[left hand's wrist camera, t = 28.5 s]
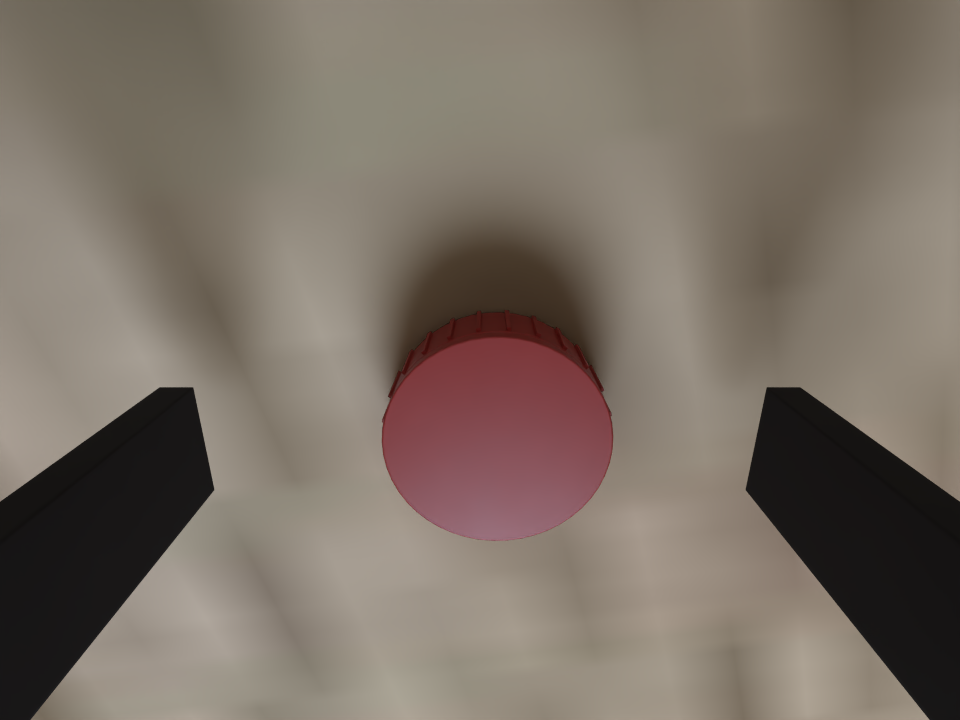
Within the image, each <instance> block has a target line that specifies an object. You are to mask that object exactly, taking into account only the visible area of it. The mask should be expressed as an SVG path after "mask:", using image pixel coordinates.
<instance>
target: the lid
mask: <svg viewBox="0 0 960 720" xmlns="http://www.w3.org/2000/svg"><path fill="white" fill-rule="evenodd" d="M602 391H604V389H603V387H602V385H601V383H600V381H599V379H598V377H597V375H596V373H595V371H594V369H593V367H592V365H590V366H589V365H588V363H587V361H586V359H585V357H584V355H583V353H582V351H581V349H580V347H579V346H578V345H577V344H576V345H575V346H574V345H573V344H572V343H571V342H570V341H569V340H568V339H567V338H566V337H565V336H564V335H562V333H561V331H560V329H559V328H557V327H556V329H554V328H552V327H550V326H548V325H546V324H544V323H543V322H541V321H538V320H537V319H536V317H535V316H532V317H531V318H530V317H526V316H522V315H518V314H512V313H509V310H505V312H504V313H501V312H497V313H482V314H481V311H477V314H476V315H471V316H467V317H464V318H460V319H458V320H455V318H453V319H451V320H450V323H448V324H446V325H445V326H443V327H441V328H440V329H438V330H436V331H435V332H433V333H432V332H431V331H430V332H429V333H428V334H427V336H426V339H425V340H424V341H423V342H422V343H421V344H420V345H419V346H418V347H417V348H416V349H415V350H412V349H411V351H410V352H409V354H408V357H407V359H406V362H405V364H404V367H403V369H402V372H401V371H398V374H397V376H396V378H395V381H394V383H393V386H392V388H391V390H390V393H389V395H388V397H390V398H391V399H390V402H389V404H388V406H387V409H386V411H385V414H384V416H383V419H382V422H383V428H382V448H383V456H384V460H385V463H386V467H387V470H388V472H389V475H390V477H391V479H392V481H393V483H394V485H395V486H396V488H397V490H398V491H399V493H400V494H401V495H402V497H403V498H404V499H405V500H406V502H407V503H408V504H409V505H410V506H411V507H412V508H413V509H414V510H415V511H416V512H418V513H419V514H420V515H421V516H423V517H424V518H425V519H427V520H428V521H430V522H432V523H433V524H435V525H437V526H438V527H440V528H443V529H445V530H447V531H449V532H452V533H455V534H458V535H461V536H464V537H469V538H474V539H480V540H491V541H499V540H513V539H521V538H525V537H529V536H533V535H536V534H539V533H542V532H545V531H547V530H549V529H551V528H553V527H555V526H557V525H559V524H561V523H563V522H564V521H566V520H567V519H569V518H570V517H572V516H573V515H574V514H575V513H577V512H578V511H579V510H580V509H581V508H582V507H583V506H584V505H585V504H586V503H587V502H588V501H589V500H590V499H591V497H592V496H593V495H594V493H595V492H596V490H597V489H598V488H599V486H600V484H601V482H602V480H603V478H604V476H605V474H606V471H607V469H608V466H609V463H610V459H611V454H612V448H613V428H612V421H611V417H610V416H612V415H611V411H610V409H609V407H608V405H607V403H606V401H605V399H604V397H603V395H602Z"/></svg>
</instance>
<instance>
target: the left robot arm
mask: <svg viewBox="0 0 960 720" xmlns="http://www.w3.org/2000/svg"><path fill="white" fill-rule="evenodd" d="M213 491H214V486H213V481H212V476H211V471H210V466H209V462H208V457H207V452H206V447H205V442H204V437H203V433H202V428H201V423H200V418H199V413H198V408H197V404H196V399H195V394H194V389H193V387H160V388H158V389H157V390H155V391H154V392H153V393H151V394H150V395H148V396H147V397H146V398H144V399H143V400H142V401H140V402H139V403H137V404H136V405H135V406H133V407H132V408H130V409H129V410H128V411H126V412H125V413H123V414H122V415H121V416H119V417H118V418H116V419H115V420H114V421H112V422H111V423H109V424H108V425H107V426H105V427H104V428H102V429H101V430H100V431H98V432H97V433H95V434H94V435H93V436H91V437H90V438H88V439H87V440H86V441H84V442H83V443H82V444H80V445H79V446H77V447H76V448H75V449H73V450H72V451H70V452H69V453H68V454H66V455H65V456H63V457H62V458H61V459H59V460H58V461H56V462H55V463H54V464H52V465H51V466H49V467H48V468H47V469H45V470H44V471H42V472H41V473H40V474H38V475H37V476H35V477H34V478H33V479H31V480H30V481H28V482H27V483H26V484H24V485H23V486H22V487H20V488H19V489H17V490H16V491H15V492H13V493H12V494H10V495H9V496H8V497H6V498H5V499H3V500H2V501H1V502H0V720H31V718H32V717H33V716H34V715H35V713H36V712H37V711H38V710H39V708H40V707H41V706H42V705H43V703H44V702H45V701H46V700H47V698H48V697H49V696H50V695H51V693H52V692H53V691H54V690H55V688H56V687H57V686H58V685H59V683H60V682H61V681H62V680H63V678H64V677H65V676H66V675H67V673H68V672H69V671H70V670H71V668H72V667H73V666H74V665H75V663H76V662H77V661H78V660H79V658H80V657H81V656H82V655H83V653H84V652H85V651H86V650H87V648H88V647H89V646H90V645H91V643H92V642H93V641H94V640H95V638H96V637H97V636H98V635H99V633H100V632H101V631H102V630H103V628H104V627H105V626H106V625H107V623H108V622H109V621H110V620H111V618H112V617H113V616H114V615H115V613H116V612H117V611H118V610H119V608H120V607H121V606H122V605H123V603H124V602H125V601H126V600H127V598H128V597H129V596H130V595H131V593H132V592H133V591H134V590H135V588H136V587H137V586H138V585H139V583H140V582H141V581H142V580H143V578H144V577H145V576H146V575H147V573H148V572H149V571H150V570H151V568H152V567H153V566H154V565H155V563H156V562H157V561H158V560H159V558H160V557H161V556H162V555H163V553H164V552H165V551H166V550H167V548H168V547H169V546H170V545H171V543H172V542H173V541H174V540H175V538H176V537H177V536H178V535H179V533H180V532H181V531H182V530H183V528H184V527H185V526H186V525H187V523H188V522H189V521H190V520H191V518H192V517H193V516H194V515H195V513H196V512H197V511H198V510H199V508H200V507H201V506H202V505H203V503H204V502H205V501H206V500H207V498H208V497H209V496H210V495H211V493H212V492H213ZM746 491H747V492H748V493H749V495H750V496H751V497H752V498H753V500H754V501H755V502H756V503H757V505H758V506H759V507H760V508H761V510H762V511H763V512H764V513H765V515H766V516H767V517H768V518H769V520H770V521H771V522H772V523H773V525H774V526H775V527H776V528H777V530H778V531H779V532H780V533H781V535H782V536H783V537H784V538H785V540H786V541H787V542H788V543H789V545H790V546H791V547H792V548H793V550H794V551H795V552H796V553H797V555H798V556H799V557H800V558H801V560H802V561H803V562H804V563H805V565H806V566H807V567H808V568H809V570H810V571H811V572H812V573H813V575H814V576H815V577H816V578H817V580H818V581H819V582H820V583H821V585H822V586H823V587H824V588H825V590H826V591H827V592H828V593H829V595H830V596H831V597H832V598H833V600H834V601H835V602H836V603H837V605H838V606H839V607H840V608H841V610H842V611H843V612H844V613H845V615H846V616H847V617H848V618H849V620H850V621H851V622H852V623H853V625H854V626H855V627H856V628H857V630H858V631H859V632H860V633H861V635H862V636H863V637H864V638H865V640H866V641H867V642H868V643H869V645H870V646H871V647H872V648H873V650H874V651H875V652H876V653H877V655H878V656H879V657H880V658H881V660H882V661H883V662H884V663H885V665H886V666H887V667H888V668H889V670H890V671H891V672H892V673H893V675H894V676H895V677H896V678H897V680H898V681H899V682H900V683H901V685H902V686H903V687H904V688H905V690H906V691H907V692H908V693H909V695H910V696H911V697H912V698H913V700H914V701H915V702H916V703H917V705H918V706H919V707H920V708H921V710H922V711H923V712H924V713H925V715H926V716H927V717H928V718H929V720H960V502H959V501H958V500H957V499H955V498H954V497H952V496H951V495H950V494H948V493H947V492H945V491H944V490H943V489H941V488H940V487H938V486H937V485H936V484H934V483H933V482H932V481H930V480H929V479H927V478H926V477H925V476H923V475H922V474H920V473H919V472H918V471H916V470H915V469H913V468H912V467H911V466H909V465H908V464H906V463H905V462H904V461H902V460H901V459H899V458H898V457H897V456H895V455H894V454H892V453H891V452H890V451H888V450H887V449H885V448H884V447H883V446H881V445H880V444H878V443H877V442H876V441H874V440H873V439H872V438H870V437H869V436H867V435H866V434H865V433H863V432H862V431H860V430H859V429H858V428H856V427H855V426H853V425H852V424H851V423H849V422H848V421H846V420H845V419H844V418H842V417H841V416H839V415H838V414H837V413H835V412H834V411H832V410H831V409H830V408H828V407H827V406H825V405H824V404H823V403H821V402H820V401H818V400H817V399H816V398H814V397H813V396H812V395H810V394H809V393H807V392H806V391H805V390H803V389H802V388H800V387H767V389H766V394H765V399H764V403H763V408H762V413H761V418H760V423H759V428H758V433H757V437H756V442H755V447H754V452H753V457H752V462H751V466H750V471H749V476H748V481H747V486H746Z"/></svg>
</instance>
